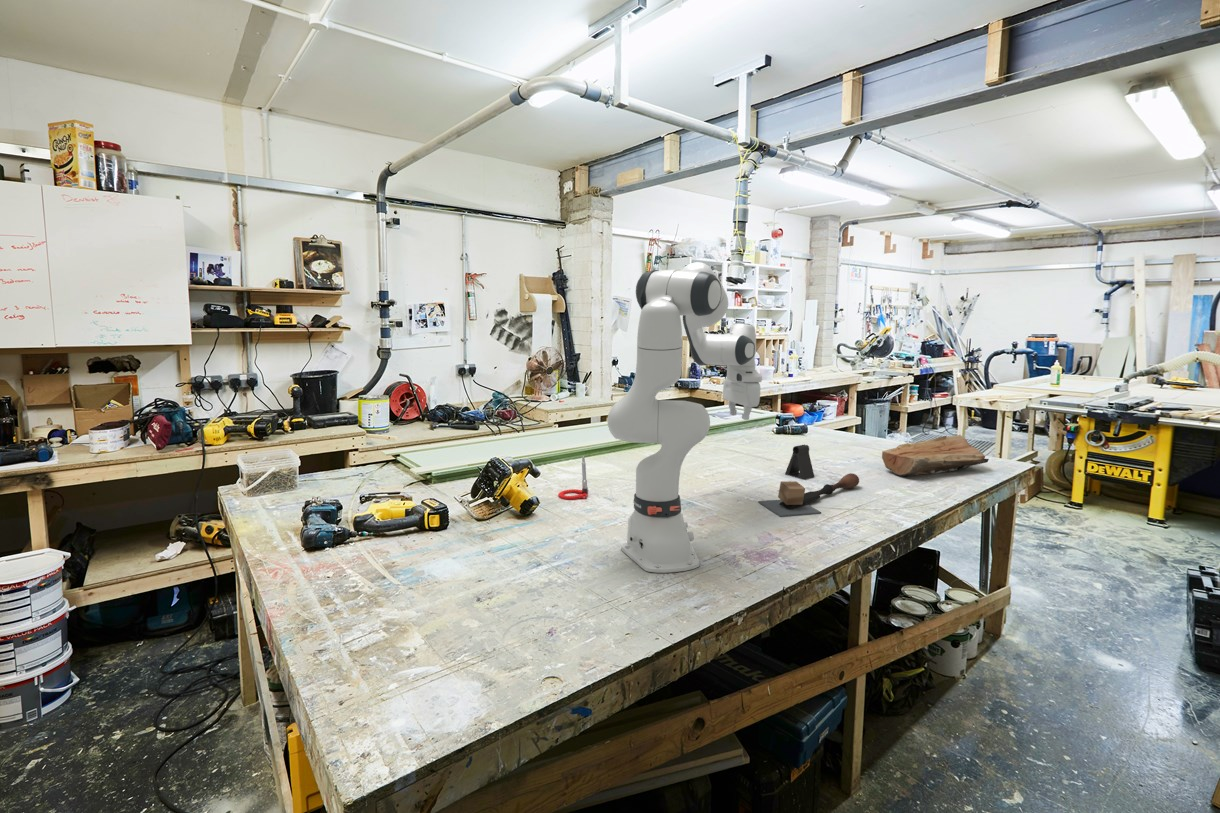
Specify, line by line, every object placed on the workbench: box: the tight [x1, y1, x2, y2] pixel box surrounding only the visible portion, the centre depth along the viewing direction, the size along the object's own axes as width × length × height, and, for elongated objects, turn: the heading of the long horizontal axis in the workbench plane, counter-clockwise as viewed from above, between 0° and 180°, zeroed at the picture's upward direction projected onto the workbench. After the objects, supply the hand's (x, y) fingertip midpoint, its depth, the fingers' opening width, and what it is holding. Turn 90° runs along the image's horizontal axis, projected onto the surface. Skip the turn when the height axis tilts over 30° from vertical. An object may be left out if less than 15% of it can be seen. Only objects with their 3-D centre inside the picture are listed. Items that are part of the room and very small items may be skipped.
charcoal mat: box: [757, 499, 822, 518], centre depth 180 cm, size 14×14×1 cm
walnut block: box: [777, 480, 806, 505], centre depth 179 cm, size 6×6×6 cm
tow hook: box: [558, 455, 589, 500], centre depth 191 cm, size 9×14×10 cm
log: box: [881, 434, 990, 477], centre depth 224 cm, size 42×17×15 cm, turn 109°
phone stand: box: [784, 444, 815, 481], centre depth 217 cm, size 9×6×12 cm, turn 34°
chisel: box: [779, 472, 860, 509], centre depth 191 cm, size 5×43×5 cm, turn 129°
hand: (739, 417), depth 183 cm, fingers open, 8 cm apart
